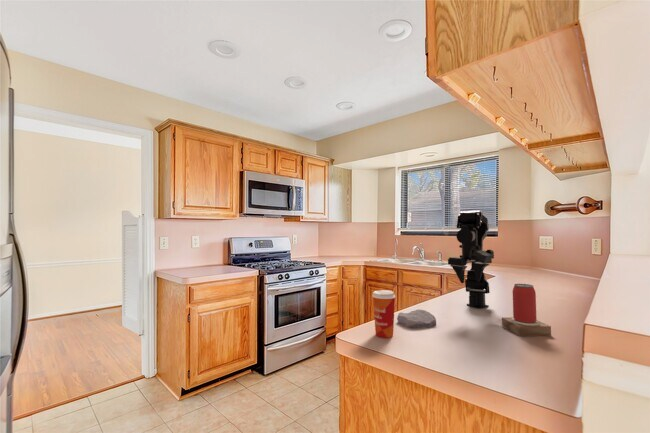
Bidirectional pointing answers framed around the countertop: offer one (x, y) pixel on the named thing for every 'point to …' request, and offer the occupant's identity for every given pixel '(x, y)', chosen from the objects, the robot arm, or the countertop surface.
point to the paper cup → (384, 313)
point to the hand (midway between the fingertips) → (470, 282)
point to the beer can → (524, 303)
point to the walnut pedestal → (526, 327)
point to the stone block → (417, 319)
